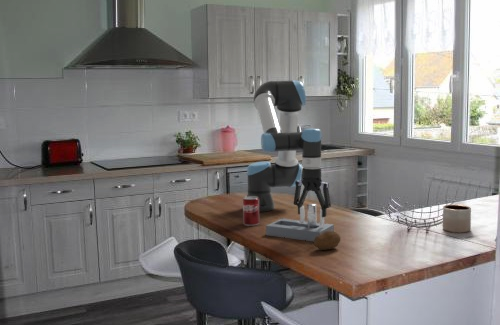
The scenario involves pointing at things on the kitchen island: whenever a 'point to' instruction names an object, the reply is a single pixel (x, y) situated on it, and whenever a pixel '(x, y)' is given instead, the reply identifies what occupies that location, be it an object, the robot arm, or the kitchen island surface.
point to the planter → (456, 218)
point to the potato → (327, 240)
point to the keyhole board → (296, 229)
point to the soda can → (251, 211)
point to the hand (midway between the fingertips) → (312, 223)
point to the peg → (312, 215)
